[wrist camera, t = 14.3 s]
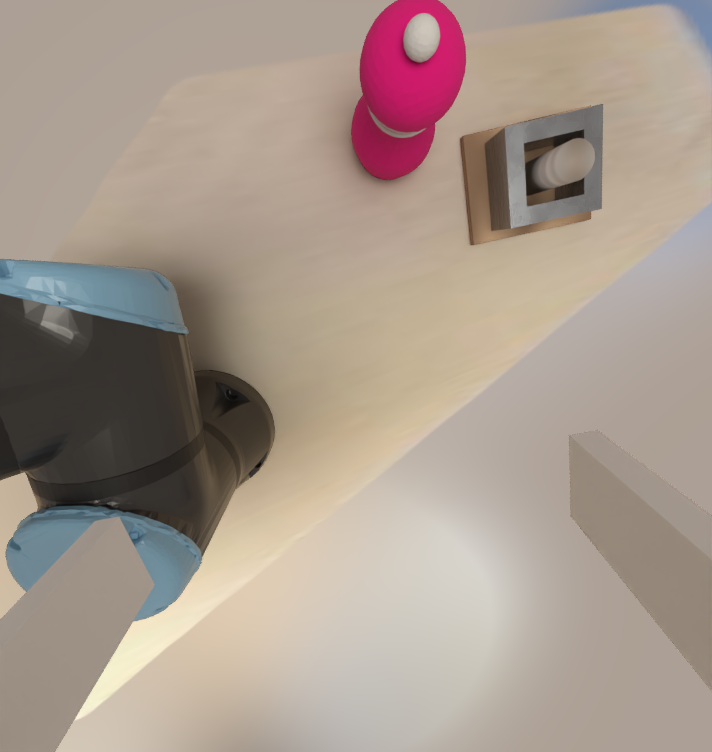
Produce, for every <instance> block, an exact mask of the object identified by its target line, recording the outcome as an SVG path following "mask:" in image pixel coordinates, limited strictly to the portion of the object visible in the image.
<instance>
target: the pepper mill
mask: <svg viewBox="0 0 712 752" xmlns="http://www.w3.org/2000/svg"><path fill="white" fill-rule="evenodd" d="M465 65H466V49H465V43H464V38H463V33H462V31H461V28H460V25H459V23H458V21H457V20H456V18H455V16H454V15H453V14H452V12H451V11H450V10H449V9H448V8H447V7H446V6H445V5H444V4H443V3H441V2H440V1H438V0H397V1H395V2H394V3H392V4H391V5H389V6H388V7H387V8H386V9H385V10H384V11H383V12H382V13H381V14H380V15H379V16H378V17H377V18H376V20H375V21H374V23H373V25H372V26H371V28H370V30H369V32H368V34H367V36H366V39H365V42H364V46H363V49H362V54H361V59H360V82H361V87H362V92H363V96H362V97H361V98H360V100H359V102H358V104H357V106H356V108H355V112H354V116H353V121H352V129H351V135H352V142H353V146H354V150H355V152H356V155H357V156H358V158H359V160H360V161H361V163H362V165H363V166H364V168H365V169H366V170H367V171H368V172H369V173H370V174H372V175H373V176H375V177H377V178H380V179H384V180H390V179H396V178H398V177H401V176H404V175H406V174H408V173H410V172H412V171H413V170H415V169H416V168H417V167H418V166H419V165H420V164H421V163H422V161H423V160H424V159H425V157H426V155H427V154H428V152H429V149H430V147H431V144H432V142H433V138H434V133H435V123H436V122H437V121H438V120H439V119H440V118H442V117H443V116H444V115H445V113H446V112H447V111H448V110H449V108H450V107H451V106H452V104H453V103H454V101H455V99H456V97H457V95H458V93H459V90H460V87H461V84H462V81H463V77H464V73H465Z"/></svg>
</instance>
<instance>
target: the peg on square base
mask: <svg viewBox="0 0 712 752" xmlns="http://www.w3.org/2000/svg"><path fill="white" fill-rule="evenodd" d="M588 107H591V106H587V107H583V108H588ZM583 108H579V109H583ZM579 109H574V110H570V111H566V112H571V111H575V110H579ZM566 112H562V113H566ZM562 113H558V114H562ZM558 114H554V115H558ZM554 115H549V116H545V117H550V116H554ZM545 117H541V118H545ZM541 118H537V119H541ZM537 119H533V120H537ZM533 120H528V121H533ZM528 121H524V122H528ZM524 122H520V123H524ZM520 123H516V124H520ZM516 124H512V125H516ZM508 126H511V125H508ZM504 127H507V126H503V127H499V128H495V129H491V130H487V131H483V132H478V133H474V134H470V135H466V136H463V137H462V138H461V139H460V141H461V151H462V161H463V171H464V181H465V191H466V201H467V211H468V221H469V231H470V241H471V245H475V244H480V243H484V242H489V241H493V240H498V239H503V238H507V237H512V236H516V235H521V234H525V233H530V232H535V231H539V230H544V229H548V228H553V227H557V226H562V225H567V224H571V223H576V222H580V221H585V220H589V219H591V211H589V212H584V213H580V214H575V215H571V216H566V217H561V218H557V219H552V220H548V221H543V222H538V223H534V224H529V225H525V226H520V227H515V228H511V229H503V230H496V231H491V219H490V207H489V194H488V181H487V169H486V156H485V143H486V142H487V141H488V140H490V139H491V138H492V137H493V136H494V135H496V134H497V133H498V132H499V131H501V130H502V129H503V128H504ZM524 158H525V179H526V199H527V207H529V206H533V205H538V204H542V203H547V202H551V201H555V188H556V187H559V186H562V185H566V184H569V183H572V182H575V181H578V180H581V179H582V178H584V177H585V176H586V175H587V174H588V173H589V172H590V170H591V169H592V167H593V164H594V160H595V151H594V148H593V146H592V144H591V143H590V142H589V141H587V140H586V139H583V138H576V139H572V140H570V141H568V142H566V143H564V144H562V145H560V146H558V147H556V148H554V146H549V147H544V148H540V149H536V150H531V151H527V152H524Z"/></svg>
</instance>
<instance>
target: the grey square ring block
mask: <svg viewBox="0 0 712 752" xmlns="http://www.w3.org/2000/svg"><path fill="white" fill-rule="evenodd" d="M576 138H583V139H586V140H587V141H589V142H590V143H591V144H592V146H593V148H594V151H595V160H594V164H593V167H592V169H591V170H590V172H589V173H588V174H587V175H586V176H585V177H584V178H582V179H581V180H578V181H575V182H572V183H569V184H566V185H562V186H559V187H556V188H555V201H551V202H547V203H542V204H538V205H533V206H529V207H527V199H526V179H525V158H524V152H527V151H531V150H536V149H540V148H544V147H549V146H554V148H556V147H558V146H560V145H562V144H564V143H566V142H568V141H570V140H572V139H576ZM602 140H603V104H600V105H596V106H592V107H588V108H583V109H579V110H575V111H571V112H566V113H562V114H558V115H554V116H550V117H545V118H541V119H537V120H533V121H528V122H524V123H520V124H516V125H511V126H507V127H504V128H503V129H502V130H501V131H499V132H498V133H497V134H496V135H494V136H493V137H492V138H491V139H490V140H488V141H487V142H486V143H485V156H486V169H487V181H488V194H489V207H490V219H491V231H496V230H503V229H511V228H515V227H520V226H525V225H529V224H534V223H538V222H543V221H548V220H552V219H557V218H561V217H566V216H571V215H575V214H580V213H584V212H589V211H593V210H598V209H602Z"/></svg>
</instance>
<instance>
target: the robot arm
mask: <svg viewBox="0 0 712 752" xmlns="http://www.w3.org/2000/svg"><path fill="white" fill-rule="evenodd" d="M187 334H189V330H188V328H187V327H186V326H185V325H184V321H183V317H182V314H181V310H180V305H179V301H178V297H177V293H176V290H175V288H174V286H173V285H172V283H171V282H170V281H169V280H168V279H167V278H166V277H165V276H163V275H162V274H160V273H158V272H156V271H153V270H149V269H141V268H130V267H118V266H105V265H91V264H77V263H61V262H46V261H28V260H11V259H0V480H3V479H5V478H8V477H11V476H14V475H17V474H20V473H23V472H25V473H26V475H27V477H28V480H29V482H30V485H31V488H32V490H33V493H34V496H35V498H36V501H37V504H38V510H37V512H34V513H32V514H30V515H29V516H27V517H26V518H25V519H23V520H22V521H21V522H20V523H19V525H18V528H17V530H16V531H15V533H14V535H13V537H12V538H11V539H10V540H9V542H8V544H7V549H6V560H7V565H8V568H9V570H10V572H11V574H12V576H13V577H14V579H15V580H16V582H17V583H18V584H19V585H20V586H21V587H22V588H23V589H24V590H25V591H26V593H25V594H24V595H23V596H22V597H21V598H20V600H19V601H18V602H17V603H16V604H15V605H14V606H13V607H12V608H11V609H10V610H9V611H8V612H7V613H6V614H5V615H4V616H3V617H2V618H1V619H0V752H55V751H56V749H57V748H58V746H59V744H60V743H61V741H62V739H63V737H64V736H65V734H66V733H67V731H68V729H69V727H70V726H71V724H72V722H73V721H74V719H75V717H76V716H77V714H78V712H79V711H80V709H81V707H82V706H83V704H84V702H85V701H86V699H87V697H88V696H89V694H90V692H91V691H92V689H93V687H94V686H95V684H96V682H97V681H98V679H99V677H100V676H101V674H102V672H103V671H104V669H105V667H106V666H107V664H108V662H109V661H110V659H111V657H112V656H113V654H114V652H115V651H116V649H117V647H118V646H119V644H120V642H121V641H122V639H123V637H124V636H125V634H126V632H127V631H128V629H129V627H130V626H131V624H132V622H133V621H138V620H142V619H146V618H148V617H151V616H154V615H156V614H158V613H160V612H161V611H163V610H165V609H166V608H167V607H168V606H169V605H170V604H172V603H173V602H175V601H176V600H177V599H178V597H179V596H180V595H181V594H182V592H183V590H184V589H185V587H186V586H187V584H188V583H189V581H190V580H191V578H192V576H193V575H194V573H195V572H196V571H197V570H198V569H199V566H200V564H201V563H202V562H201V561H202V556H203V554H204V552H205V550H206V548H207V546H208V544H209V542H210V540H211V538H212V536H213V534H214V532H215V530H216V528H217V526H218V524H219V522H220V520H221V518H222V516H223V514H224V512H225V510H226V508H227V506H228V504H229V502H230V499H231V497H232V495H233V493H234V491H235V489H237V488H238V487H239V486H240V485H242V484H243V483H244V482H246V481H247V480H248V479H249V478H251V477H252V476H253V475H254V474H256V473H257V472H258V471H259V469H260V468H261V467H262V466H263V464H264V463H265V461H266V459H267V457H268V455H269V452H270V450H271V448H272V445H273V441H274V433H275V430H274V421H273V417H272V414H271V412H270V409H269V407H268V406H267V404H266V402H265V401H264V399H263V398H262V397H261V396H260V394H259V393H258V392H257V391H256V390H255V389H254V388H252V387H251V386H250V385H249V384H247V383H246V382H244V381H242V380H241V379H239V378H237V377H234V376H232V375H229V374H226V373H222V372H217V371H196V372H193V366H192V360H191V354H190V349H189V343H188V337H187ZM569 457H570V510H571V517H572V518H573V520H574V521H575V522H576V523H577V525H578V526H579V527H580V528H581V529H582V531H583V532H584V533H585V535H586V536H587V537H588V538H589V539H590V541H591V542H592V543H593V545H594V546H595V547H596V548H597V550H598V551H599V552H600V553H601V554H602V556H603V557H604V558H605V559H606V561H607V562H608V563H609V564H610V566H611V567H612V568H613V569H614V570H615V572H616V573H617V574H618V576H619V577H620V578H621V579H622V580H623V582H624V583H625V584H626V585H627V587H628V588H629V589H630V590H631V592H632V593H633V594H634V595H635V596H636V598H637V599H638V600H639V602H640V603H641V604H642V605H643V606H644V608H645V609H646V610H647V612H648V613H649V614H650V615H651V617H652V618H653V619H654V620H655V622H656V623H657V624H658V625H659V626H660V628H661V629H662V630H663V631H664V633H665V634H666V635H667V636H668V638H669V639H670V640H671V641H672V643H673V644H674V645H675V646H676V647H677V649H678V650H679V651H680V653H681V654H682V655H683V656H684V658H685V659H686V660H687V661H688V662H689V664H690V665H691V666H692V667H693V669H694V670H695V671H696V672H697V674H698V675H699V676H700V677H701V679H702V680H703V681H704V682H705V684H706V685H707V686H708V687H709V688H710V690H711V691H712V515H711V514H709V513H708V512H707V511H706V510H704V509H703V508H701V507H700V506H698V505H697V504H696V503H695V502H693V501H692V500H691V499H689V498H688V497H687V496H685V495H684V494H683V493H681V492H680V491H679V490H677V489H676V488H674V487H673V486H672V485H671V484H669V483H668V482H667V481H665V480H664V479H663V478H661V477H660V476H659V475H657V474H656V473H655V472H653V471H652V470H651V469H649V468H648V467H647V466H645V465H644V464H643V463H641V462H640V461H638V460H637V459H636V458H634V457H633V456H632V455H631V454H629V453H628V452H627V451H625V450H624V449H622V448H621V447H620V446H618V445H617V444H616V443H614V442H613V441H612V440H610V439H609V438H608V437H606V436H605V435H604V434H602V433H601V432H600V431H598V430H595V431H590V432H585V433H579V434H574V435H569Z"/></svg>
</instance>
